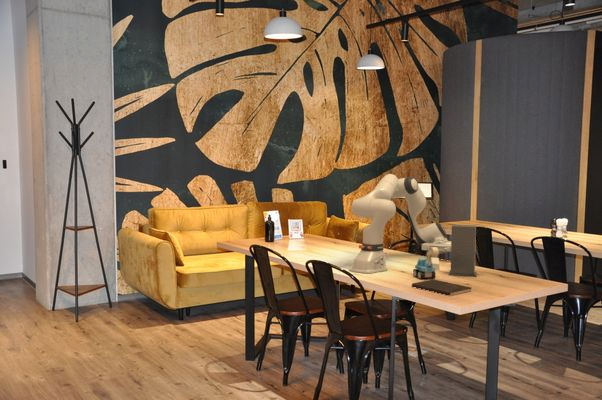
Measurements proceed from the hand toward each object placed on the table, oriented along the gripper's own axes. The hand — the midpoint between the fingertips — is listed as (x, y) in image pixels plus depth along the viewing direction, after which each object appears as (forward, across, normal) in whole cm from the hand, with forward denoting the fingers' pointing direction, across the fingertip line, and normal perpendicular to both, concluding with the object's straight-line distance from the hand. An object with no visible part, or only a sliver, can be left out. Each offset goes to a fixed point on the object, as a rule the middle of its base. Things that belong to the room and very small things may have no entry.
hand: (437, 249), depth 354 cm
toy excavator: (+47, -1, +8) cm, 48 cm away
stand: (+30, +16, +8) cm, 34 cm away
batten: (+13, 0, +8) cm, 15 cm away
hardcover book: (+69, +8, +9) cm, 70 cm away
